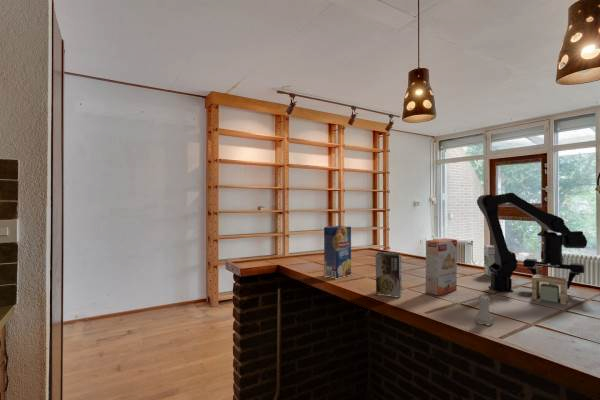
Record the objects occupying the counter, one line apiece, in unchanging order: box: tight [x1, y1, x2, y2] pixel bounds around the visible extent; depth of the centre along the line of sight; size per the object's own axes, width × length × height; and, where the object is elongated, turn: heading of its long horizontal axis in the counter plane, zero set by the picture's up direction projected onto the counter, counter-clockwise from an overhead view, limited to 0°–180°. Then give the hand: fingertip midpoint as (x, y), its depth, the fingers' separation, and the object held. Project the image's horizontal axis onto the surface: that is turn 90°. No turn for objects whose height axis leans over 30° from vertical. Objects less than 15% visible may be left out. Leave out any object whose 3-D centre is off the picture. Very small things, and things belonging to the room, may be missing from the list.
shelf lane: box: [531, 274, 568, 305], centre depth 118 cm, size 9×9×8 cm
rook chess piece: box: [475, 294, 494, 325], centre depth 95 cm, size 4×4×8 cm
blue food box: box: [323, 225, 352, 278], centre depth 156 cm, size 12×8×24 cm, turn 137°
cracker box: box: [425, 238, 458, 296], centre depth 128 cm, size 14×6×21 cm, turn 126°
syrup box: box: [483, 244, 495, 278], centre depth 155 cm, size 6×6×14 cm
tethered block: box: [539, 282, 560, 303], centre depth 122 cm, size 16×5×6 cm, turn 137°
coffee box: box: [375, 251, 403, 298], centre depth 125 cm, size 9×6×16 cm
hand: (552, 287), depth 127 cm, fingers open, 9 cm apart
